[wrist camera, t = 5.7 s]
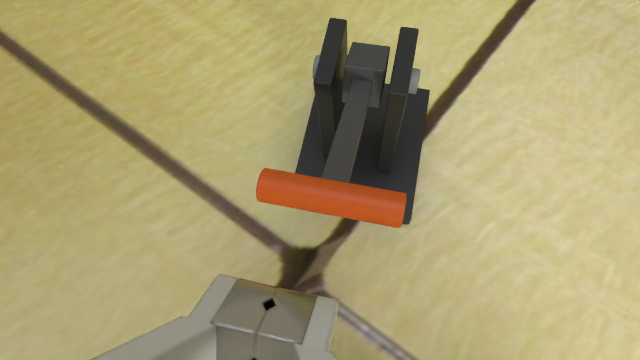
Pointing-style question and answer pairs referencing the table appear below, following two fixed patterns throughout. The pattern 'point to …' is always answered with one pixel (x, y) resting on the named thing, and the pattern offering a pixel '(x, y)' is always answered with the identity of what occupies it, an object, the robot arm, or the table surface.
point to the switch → (343, 154)
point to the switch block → (369, 118)
